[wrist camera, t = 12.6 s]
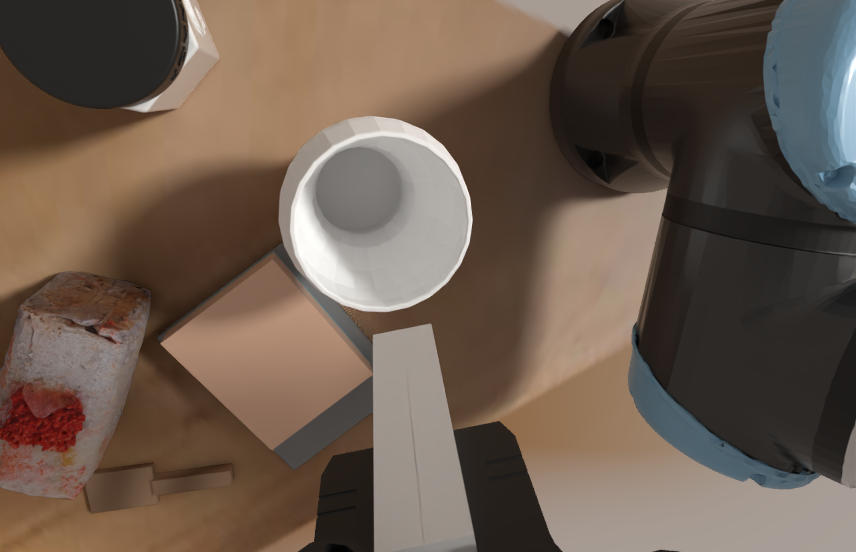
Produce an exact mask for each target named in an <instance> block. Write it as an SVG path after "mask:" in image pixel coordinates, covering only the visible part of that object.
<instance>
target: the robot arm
mask: <svg viewBox="0 0 856 552" xmlns="http://www.w3.org/2000/svg"><path fill="white" fill-rule="evenodd" d="M550 114H551V121H552V127H553V130H554V134H555V137H556V140H557V142H558V144H559V147H560V149H561V150H562V152H563V154H564V156H565V157H566V159H567V160H568V161H569V163H570V164H571V165H572V166H573V167H574V168H575V169H576V170H577V171H578V172H579V173H580V174H582V175H583V176H584V177H586V178H587V179H589V180H590V181H592V182H594V183H596V184H599V185H601V186H604V187H608V188H611V189H615V190H618V191H622V192H629V193H647V192H654V191H658V190H662V189H666V188H668V190H667V195H666V200H665V204H664V209H663V212H662V216H661V221H660V225H659V229H658V234H657V238H656V242H655V247H654V251H653V255H652V259H651V264H650V268H649V272H648V277H647V281H646V285H645V290H644V294H643V298H642V302H641V307H640V311H639V315H638V320H637V322H636V323H635V325H634V326H633V330H632V346H633V349H632V355H631V361H630V367H629V373H628V386H629V391H630V393H631V395H632V397H633V399H634V403H635V405H636V408H637V409H638V411H639V413H640V414H641V416H642V417H643V418H644V419H645V421H646V422H647V423H648V424H649V425H650V426H651V427H652V428H653V430H654V431H655V432H657V433H658V434H659V435H660V436H661V437H662V438H663V439H665V440H666V441H667V442H668V443H669V444H671V445H672V446H673V447H675V448H676V449H678V450H679V451H680V452H682V453H683V454H685V455H686V456H688V457H690V458H691V459H693V460H695V461H696V462H698V463H700V464H702V465H704V466H706V467H708V468H710V469H712V470H714V471H716V472H718V473H721V474H723V475H725V476H728V477H730V478H733V479H736V480H739V481H746V480H747V479H748V478H750V479H752V480H754V481H755V482H757V484H759V485H760V486H762V487H766V488H772V489H793V488H798V487H802V486H805V485H807V484H809V483H810V482H811V481H813V480H814V479H816V478H818V477H819V476H820V475H823V476H825V477H827V478H829V479H831V480H834V481H836V482H838V483H840V484H842V485H845V486H847V487H849V488H856V0H611V1H608V2H607V3H605V4H603V5H601V6H600V7H598V8H597V9H595V10H594V11H593V12H592V13H590V14H589V15H588V16H587V17H586V18H585V19H584V20H583V21H582V22H581V23H580V24H579V25H578V27H577V28H576V29H575V30H574V32H573V33H572V34H571V36H570V37H569V39H568V41H567V42H566V44H565V46H564V48H563V50H562V52H561V54H560V56H559V58H558V61H557V64H556V67H555V70H554V74H553V78H552V83H551V91H550ZM373 441H374V448H370V449H365V450H360V451H355V452H350V453H345V454H340V455H334V456H333V457H332V459H331V460H330V462H329V464H328V465H327V467H326V469H325V470H324V472H323V474H322V475H321V484H320V493H319V499H320V500H319V502H318V511H317V515H318V518H317V520H316V529H315V538H314V542H312V543H310V544H308V545H307V546H306V547H304V548H303V549H301V550H300V551H299V552H562V551H561V550H560V548H559V547H558V546H557V545H556V544H555V543H554V541H553V539H552V537H551V535H550V533H549V531H548V528H547V525H546V522H545V519H544V516H543V514H542V511H541V508H540V505H539V502H538V499H537V496H536V494H535V491H534V488H533V485H532V482H531V479H530V477H529V474H528V472H527V468H526V465H525V462H524V460H523V458H522V455H521V451H520V448H519V445H518V443H517V440H516V437H515V435H514V434H513V433H511V431H510V430H508V429H507V428H506V427H505V426H504V425H503V424H502V423H501V422H500V421H498V422H493V423H488V424H483V425H478V426H473V427H467V428H462V429H457V430H453V428H452V423H451V418H450V413H449V408H448V404H447V399H446V394H445V389H444V384H443V379H442V374H441V369H440V364H439V359H438V354H437V350H436V345H435V340H434V335H433V330H432V325H431V324H426V325H421V326H416V327H411V328H405V329H400V330H395V331H390V332H385V333H380V334H375V335H373ZM654 552H678V551H667V550H658V551H654Z"/></svg>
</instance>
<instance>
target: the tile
mask: <svg viewBox="0 0 856 552" xmlns="http://www.w3.org/2000/svg"><path fill="white" fill-rule="evenodd" d="M160 344H161V345H162V346H163V347H164V348H165V349H166V350H167V351H168V352H169V353H170V354H171V355H172V356H173V357H174V358H175V359H176V360H177V361H179V362H180V363H181V364H182V365H183V366H184V367H185V368H186V369H187V370H188V371H189V372H190V373H191V374H192V375H193V376H194V377H195V378H196V379H197V380H198V381H199V382H200V383H201V384H203V385H204V386H205V387H206V388H207V389H208V390H209V391H210V392H211V393H212V394H213V395H214V396H215V397H216V398H217V399H218V400H219V401H220V402H221V403H222V404H223V405H224V406H225V407H227V408H228V409H229V410H230V411H231V412H232V413H233V414H234V415H235V416H236V417H237V418H238V419H239V420H240V421H241V422H242V423H243V424H244V425H245V426H246V427H247V428H248V429H249V430H251V431H252V432H253V433H254V434H255V435H256V436H257V437H258V438H259V439H260V440H261V441H262V442H263V443H264V444H265V445H266V446H267V447H268V448H269V449H270V450H271V451H272V450H273V449H274V448H276V447H277V446H278V445H280V444H281V443H282V442H284V441H285V440H286V439H288V438H289V437H290V436H292V435H293V434H294V433H296V432H297V431H298V430H300V429H301V428H302V427H304V426H305V425H306V424H308V423H309V422H310V421H312V420H313V419H314V418H316V417H317V416H318V415H320V414H321V413H322V412H324V411H325V410H326V409H328V408H329V407H330V406H332V405H333V404H334V403H336V402H337V401H338V400H340V399H341V398H342V397H344V396H345V395H346V394H348V393H349V392H350V391H352V390H353V389H354V388H356V387H357V386H358V385H360V384H361V383H362V382H364V381H365V380H366V379H368V378H369V377H370V376H372V375H373V372H372V368H371V365H370V362H369V360H368V359H367V358H366V357H365V355H364V354H363V353H362V352H361V351H360V350H359V349H358V347H357V346H356V345H355V344H354V343H353V342H352V340H351V339H350V338H349V337H348V336H347V335H346V334H345V332H344V331H343V330H342V329H341V328H340V327H339V325H338V324H337V323H336V322H335V321H334V320H333V318H332V317H331V316H330V315H329V314H328V313H327V312H326V310H325V309H324V308H323V307H322V306H321V305H320V303H319V302H318V301H317V300H316V299H315V298H314V297H313V295H312V294H311V293H310V292H309V291H308V290H307V288H306V287H305V286H304V285H303V284H302V283H301V281H300V280H299V279H298V278H297V277H296V276H295V275H294V273H293V272H292V271H291V270H290V269H289V268H288V266H287V265H286V264H285V263H284V262H283V261H282V259H281V258H280V257H279V256H278V255H277V254H276V253H275V251H273V252H271V253H270V254H269V255H267V256H266V257H265V258H263V259H262V260H261V261H259V262H258V263H257V264H255V265H254V266H253V267H251V268H250V269H249V270H247V271H246V272H245V273H243V274H242V275H241V276H239V277H238V278H237V279H235V280H234V281H233V282H231V283H230V284H229V285H227V286H226V287H225V288H223V289H222V290H221V291H219V292H218V293H217V294H215V295H214V296H213V297H211V298H210V299H209V300H207V301H206V302H205V303H203V304H202V305H201V306H199V307H198V308H197V309H195V310H194V311H193V312H191V313H190V314H189V315H187V316H186V317H185V318H183V319H182V320H181V321H179V322H178V323H177V324H175V325H174V326H173V327H171V328H170V329H169V330H167V332H166V334H165V336H164V337H163V339H162V341H161V343H160Z"/></svg>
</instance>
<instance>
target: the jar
mask: <svg viewBox="0 0 856 552" xmlns="http://www.w3.org/2000/svg"><path fill="white" fill-rule="evenodd" d="M0 46H1V48H2V50H3V51H4V53H5V54H6V56H7V57H8V59H9V60H10V61H11V63H12V64H13V65H14V66H15V67H16V68H17V70H18V71H19V72H20V73H21V74H22V75H23V76H24V77H26V78H27V79H28V80H29V81H30V82H31V83H33V84H34V85H35V86H37V87H38V88H40V89H41V90H43V91H44V92H46V93H48V94H49V95H51V96H53V97H55V98H57V99H59V100H62V101H64V102H67V103H70V104H73V105H77V106H81V107H86V108H94V109H111V108H123V109H128V110H133V111H137V112H142V113H146V112H154V111H163V110H171V109H178V108H179V107H180V106H181V105H182V103H183V102H184V101H185V100H186V98H187V97H188V96H189V95H190V94H191V92H192V91H193V90H194V89H195V87H196V86H197V85H198V84H199V83H200V81H201V80H202V79H203V78H204V76H205V75H206V74H207V73H208V72H209V70H210V69H211V68H212V67H213V66H214V64H215V63H216V62H217V61H218V59H219V55H218V52H217V50H216V47H215V45H214V42H213V40H212V37H211V35H210V32H209V30H208V28H207V25H206V23H205V20H204V18H203V15H202V13H201V10H200V8H199V5H198V3H197V0H0Z"/></svg>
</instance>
